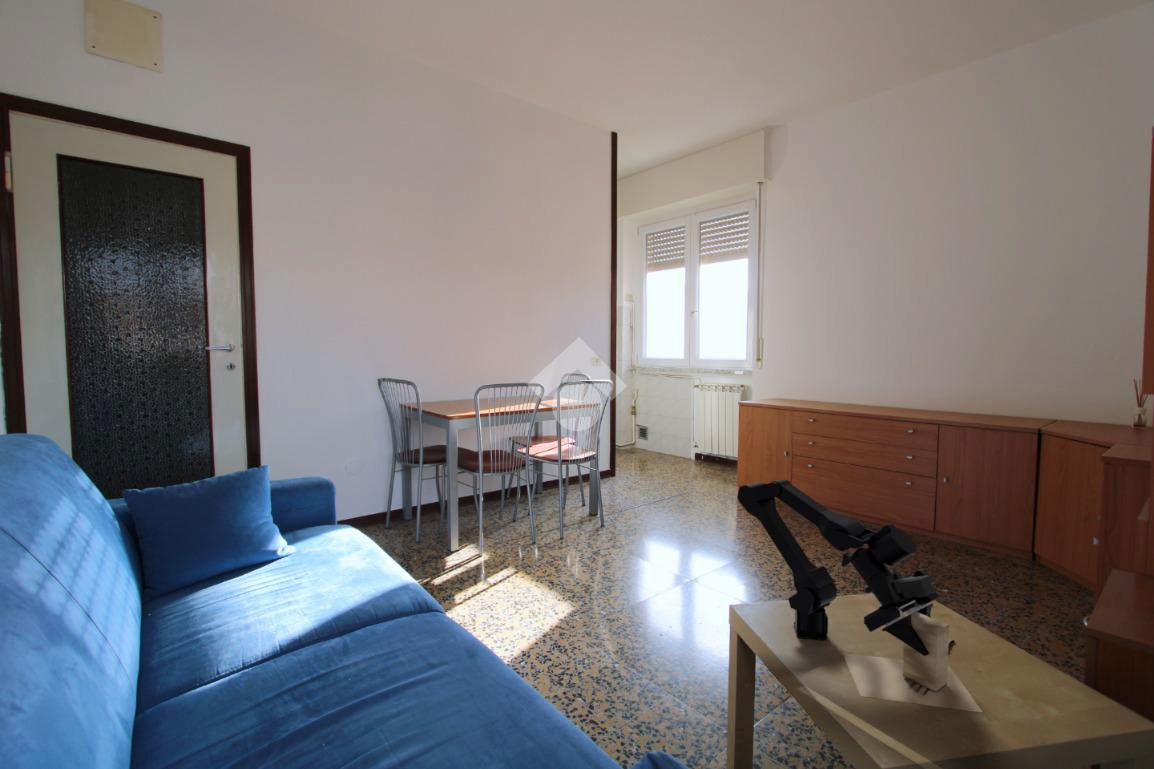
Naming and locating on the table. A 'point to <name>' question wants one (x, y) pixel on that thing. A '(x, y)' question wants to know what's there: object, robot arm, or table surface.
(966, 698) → the white flat sheet
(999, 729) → the table surface
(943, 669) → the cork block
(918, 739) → the table surface
